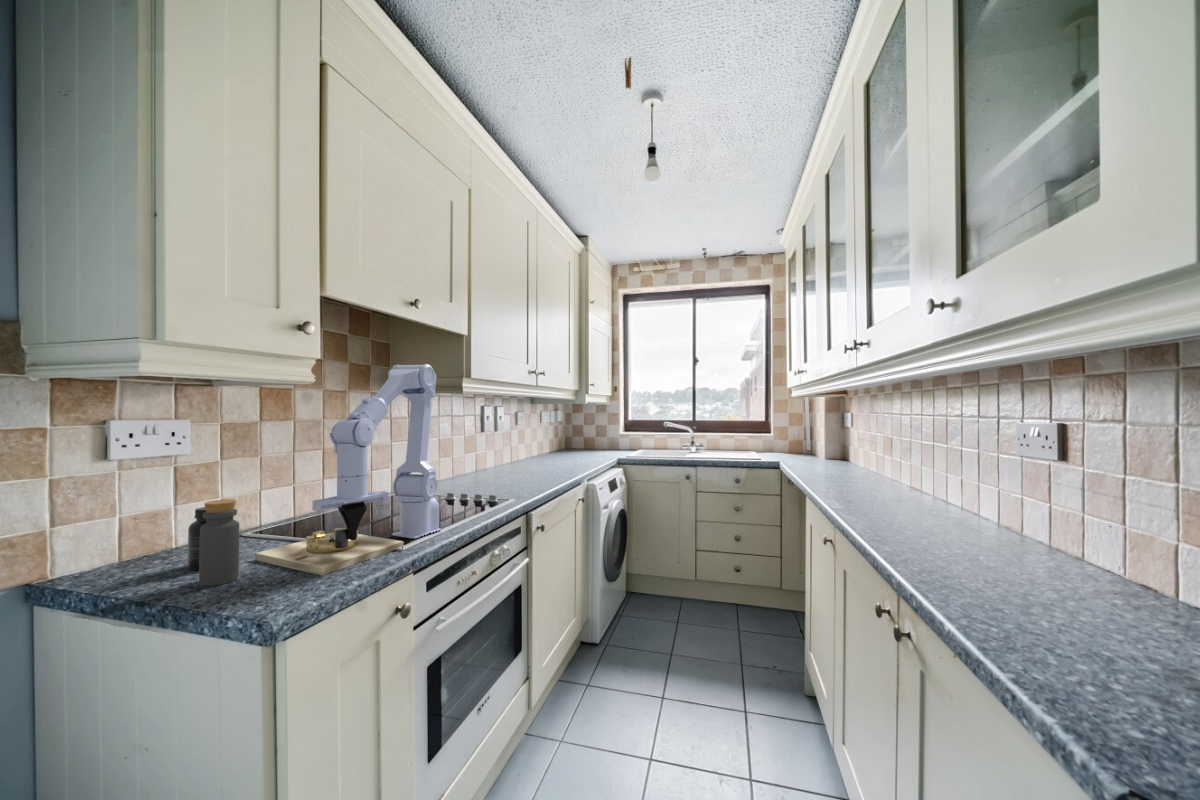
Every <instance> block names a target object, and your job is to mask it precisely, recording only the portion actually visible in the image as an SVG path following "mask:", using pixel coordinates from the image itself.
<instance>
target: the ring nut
mask: <svg viewBox="0 0 1200 800" xmlns="http://www.w3.org/2000/svg"><path fill="white" fill-rule="evenodd" d="M358 534H359V530H358V529H357V539H358ZM357 539H356V540H350V539H348V529H347V527H336V528H333V532H328V533H327V532H326V530H318V531H314V532H311V535H308V536H305V540H306V551H307V552H309V553H333V552H339V551H344V550H347V549H350V548H353V547H355V546H356V545H357Z"/></svg>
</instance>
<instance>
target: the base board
mask: <svg viewBox="0 0 1200 800" xmlns="http://www.w3.org/2000/svg"><path fill="white" fill-rule="evenodd" d="M404 543H405V542H404V541H403V540H397V539H392V538H385V537H378V536H373V535H366V534H361V533H360V534H359V533H358V539H357V545H356V546H355V547H353V548H350V549H347V550H344V551H339V552H333V553H309V552H307V551H306V539H304V540H301V541H298V542H293V543H289V544H285V545H282V546H281V545H280V546H277V547H273V548H270V549H266V550H262V551H258V552H255V553H254V561H257V562H262V563H265V562H266V564H269V565H275V566H279V567H283V568H287V569H292V570H295V571H301V572H304V573H309V574H312V575H313V574H314V575H318V576H322V577H323V576H325V575H327V574H331V573H333V572H336V571H340V570H342V569H345V568H348V567H350V566H354V565H357V564H360V563H363V562H366V561H369V560H371V559H374V557H375V558H377V556H378V557H380V556H379V555H381V556H383V554H384V555H386V553H387V554H389V553H388V552H390V551H393V550H394V549H396V548H399V547H403V546H404ZM404 547H405V546H404ZM393 552H394V551H393ZM390 553H391V552H390ZM368 559H369V560H368ZM365 560H366V561H365ZM362 561H363V562H362ZM359 562H360V563H359ZM356 563H357V564H356Z"/></svg>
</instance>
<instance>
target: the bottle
mask: <svg viewBox="0 0 1200 800" xmlns="http://www.w3.org/2000/svg"><path fill="white" fill-rule="evenodd" d="M236 503H237V500H236V499H231V498H229V499H228V498H226V499H217V500H215V499H214V500H211V501H207V502H204V507H205V509H206V512H204V513H203V518H204V519H207V523H205V524H204V525H202V526H201V527H200V549H199V570H198V581H199V582H198V584H199V586H202V587H214V586H220V585H224V584H229V583H231V582H233V581H236V580H237V579H239V574H240V573H239V572H240V571H239V569H240V568H239V567H240V563H239V562H240V522H239V521H238V520H235V519H234V517H235V516H237V515H238V509H237V508H236Z"/></svg>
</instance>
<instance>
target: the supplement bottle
mask: <svg viewBox="0 0 1200 800" xmlns="http://www.w3.org/2000/svg"><path fill="white" fill-rule="evenodd" d="M204 512H206V509H205V506H203V507H198V508H195V510H194V519H195V521H193V522H192V523H190V525H188V529H187V568H188V569H189V570H191V571H199V549H200V527H201V526H202V525H204V524H205V523H207V519H204V518H203V513H204Z"/></svg>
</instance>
